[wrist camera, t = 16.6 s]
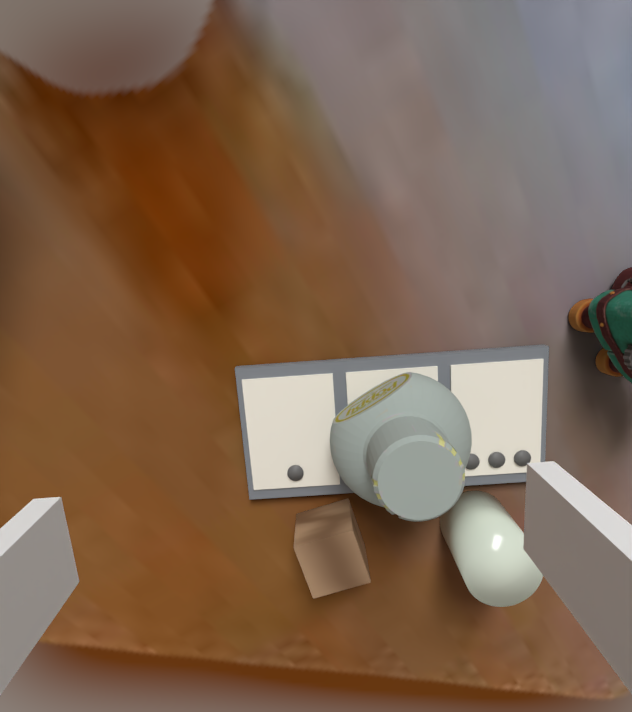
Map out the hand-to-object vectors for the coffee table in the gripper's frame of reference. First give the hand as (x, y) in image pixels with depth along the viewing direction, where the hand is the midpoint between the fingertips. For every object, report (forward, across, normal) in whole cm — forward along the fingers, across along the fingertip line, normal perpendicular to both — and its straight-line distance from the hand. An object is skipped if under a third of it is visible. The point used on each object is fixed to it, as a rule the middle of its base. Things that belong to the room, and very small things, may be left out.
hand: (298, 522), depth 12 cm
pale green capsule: (+25, +14, -17) cm, 33 cm away
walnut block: (+25, +1, -17) cm, 31 cm away
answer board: (+25, +7, -7) cm, 27 cm away
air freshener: (+24, +7, -7) cm, 26 cm away
